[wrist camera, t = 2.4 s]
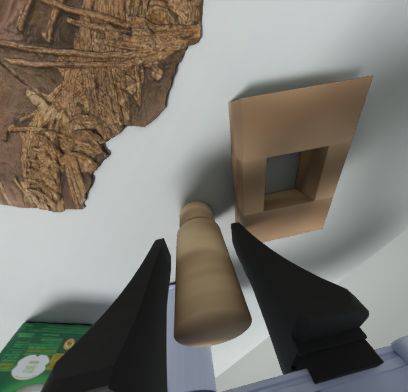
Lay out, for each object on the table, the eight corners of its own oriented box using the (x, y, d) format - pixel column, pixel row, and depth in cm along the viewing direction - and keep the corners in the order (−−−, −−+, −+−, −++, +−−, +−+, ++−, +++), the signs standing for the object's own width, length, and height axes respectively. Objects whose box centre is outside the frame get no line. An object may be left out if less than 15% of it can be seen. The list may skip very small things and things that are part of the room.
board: (303, 214, 16) (322, 228, 14) (236, 229, 16) (244, 246, 14) (333, 84, 11) (373, 75, 8) (228, 102, 10) (241, 98, 8)
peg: (215, 224, 15) (251, 335, 8) (182, 231, 15) (183, 352, 7) (211, 195, 14) (252, 300, 6) (173, 203, 13) (163, 322, 6)
